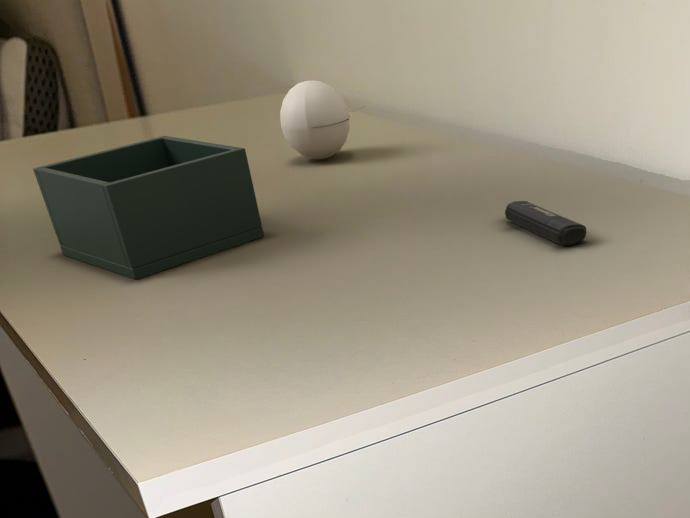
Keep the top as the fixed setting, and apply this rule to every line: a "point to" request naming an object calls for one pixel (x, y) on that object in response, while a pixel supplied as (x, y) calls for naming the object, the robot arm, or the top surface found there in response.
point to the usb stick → (545, 223)
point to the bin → (151, 204)
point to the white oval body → (315, 119)
